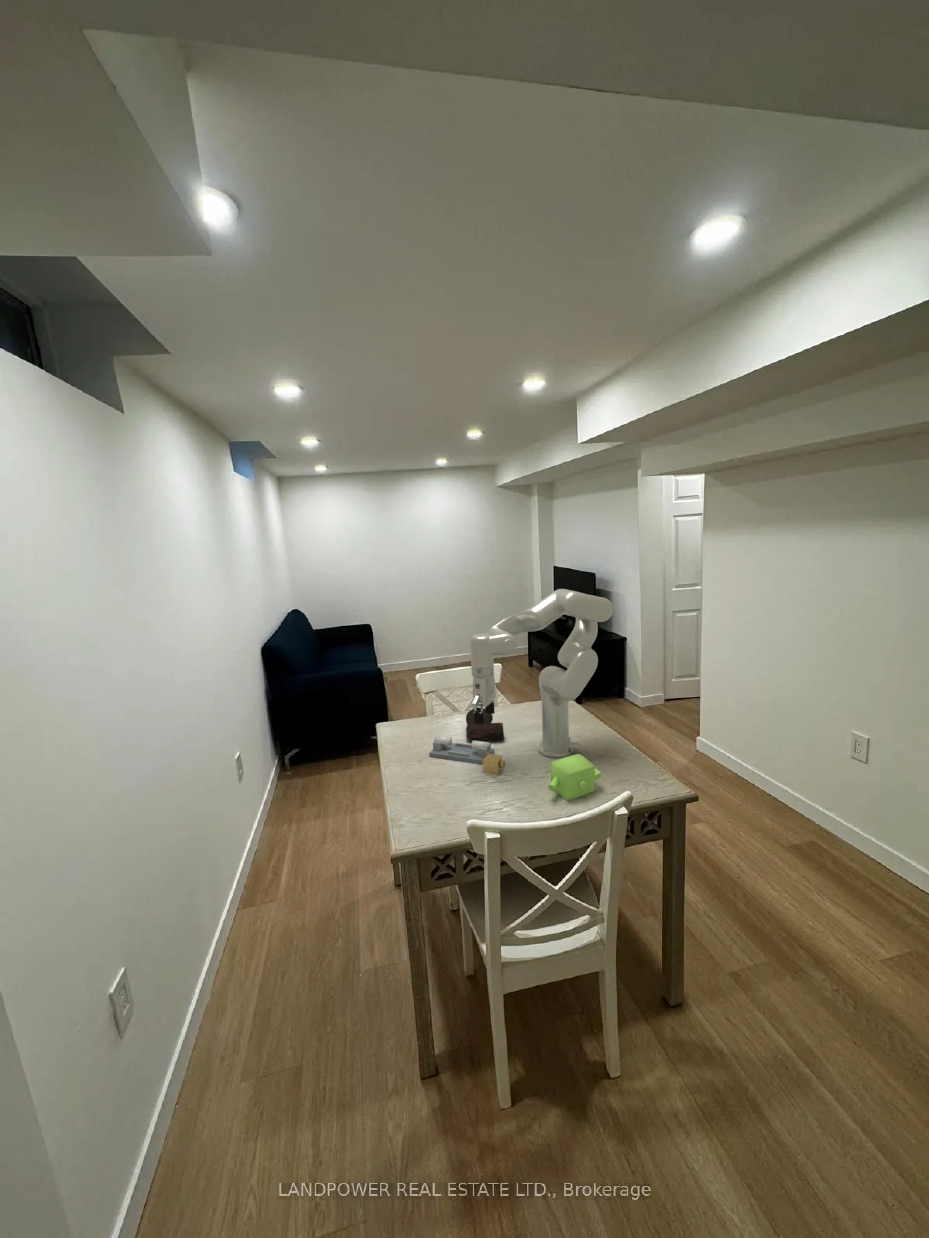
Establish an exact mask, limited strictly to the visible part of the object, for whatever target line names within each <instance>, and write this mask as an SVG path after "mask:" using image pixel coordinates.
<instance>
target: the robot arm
mask: <svg viewBox="0 0 929 1238" xmlns="http://www.w3.org/2000/svg"><path fill="white" fill-rule="evenodd" d="M613 613H614V604H613V603H612V602H611V601H610V600H609V599H608V598H606V597H601V596H597V595H591V594H587V593H583V592H581V591H580V592H579V591H575V590H570V589H566V588H558V589H556V590H554V591H553V592H550V593H549V594H548V595H546V596H545V597H544V598H542V599H541V600H540V601H538V602H537V603H535V604H533V605H532V606H531V607H529V608H527V609H525V610H522V611H520V612H517V613H514V614H512V615H510V616H507V617H506V618H504V619H502V620H500V621H499V622H497V623H496V624H494V625H493V626H491V628H490V629H488V630H487V632H486V633H475V634H473V635H472V636H470V638H469V639H470V640H469V646H470V647H469V648H470V665H471V666H470V669H471V677H472V703H471V706H472V707H471V708H472V709H473V712H474V722H475V724H481V725H483V724H484V713H482V712H483V708H484V707H485V712H486V713H489V714H492V715H494V714H495V699H496V698H497V689H496V679H495V665H494V664H495V662H494V656H509V655H512V654H513V653H515V652H516V651H517V649H518V646H519V645H518V643H519V642H518V639H517V638H516V636H518V635H519V634H522V633H528V632H529V633H531V632H537V631H541V630H543V629H546V627H547V626H549V625H550V624H552V623H553V622H554V621H556V620H558V619H559V618H560V617H562V616H563V615H566V616H568V617H569V616H570V617H573V618H575V624H574V627H573V630H572V631H571V633H570V634H569V636H568V638H567V639H566V640H565V642H564V643H563V645H562V646H561V648H560V650H559V651H558V653H557V661H558V662H559V664H560V665H561V666H563V667H565V668H567V669H566V670H565V669H564V668H561V667H558V666H555V665H549V666H546V667H545V668H543V669H542V670H541V672H540V673H539V676H538V685H539V693H540V698H541V699H540V700H541V732H542V738H541V739H542V742H541V743H539V744H538V752H539V753H540V754H541V755H543V756H546V757H549V758H559V759H560V758H564V757H568V756H571V754H572V755H573V753H574V750H576V751H581V750H582V744H579V743H580V742H579V741H573V740H572V737H571V736H570V729H569V728H570V726H569V725H570V724H569V718H570V717H569V716H570V715H569V709H570V708H569V702H572V701H574V700H576V699H577V697H578V696H580V695H581V693H582V692H583V690H584V689H585V687H587V684H588V683H589V682H590V679H591V678H592V677H593V675H594V674H595V672H596V670H597V668H598V664H599V663H598V662H599V658H598V655H597V652H596V651H595V650H594V649H592V646H593V644H594V642H595V641H596V639H597V636H598V631H599V630H598V629H599V628H598V622H599V623H603V622H606V621H608V620H609V619H610V618H611V617H612V615H613ZM479 708H480V709H479Z"/></svg>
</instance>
